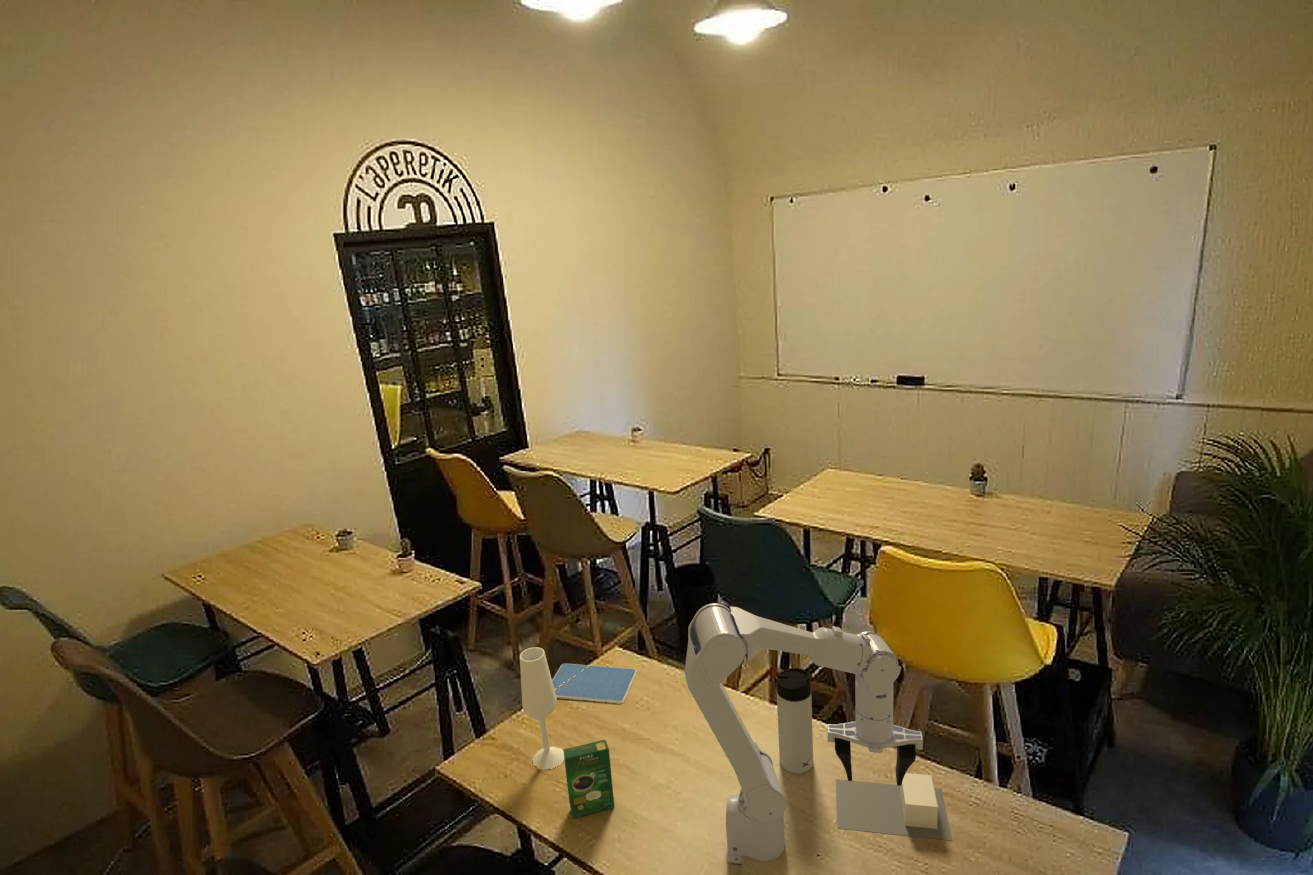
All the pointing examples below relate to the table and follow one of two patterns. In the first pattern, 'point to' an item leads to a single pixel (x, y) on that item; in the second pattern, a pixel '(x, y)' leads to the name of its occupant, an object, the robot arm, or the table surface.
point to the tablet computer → (593, 683)
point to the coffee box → (589, 778)
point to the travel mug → (795, 720)
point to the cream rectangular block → (919, 801)
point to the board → (882, 810)
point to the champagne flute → (539, 702)
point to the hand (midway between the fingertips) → (874, 778)
